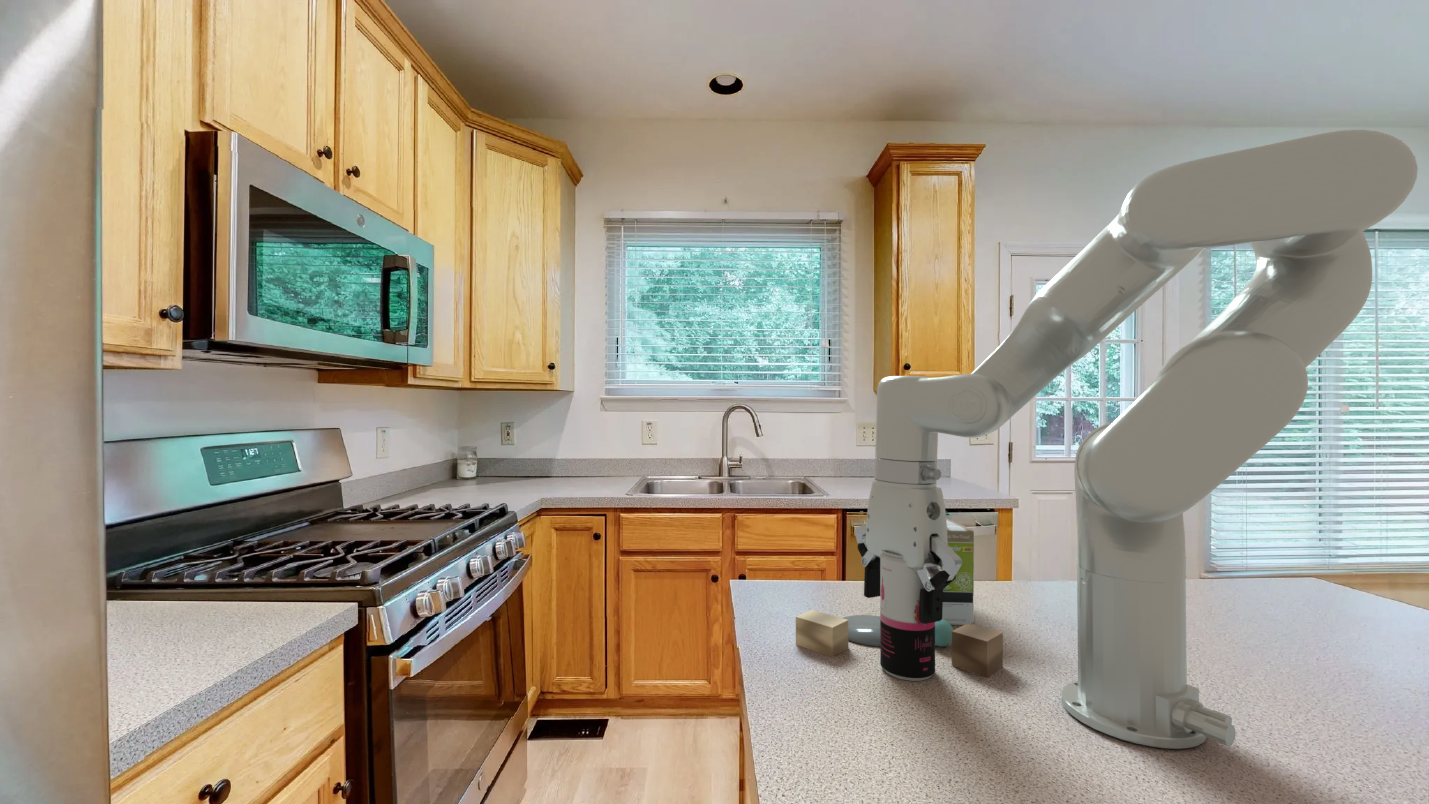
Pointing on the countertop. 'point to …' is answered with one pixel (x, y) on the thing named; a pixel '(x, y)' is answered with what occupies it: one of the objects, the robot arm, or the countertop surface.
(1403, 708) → the countertop surface
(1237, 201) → the robot arm
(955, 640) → the walnut cube
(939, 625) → the teal rubber ball
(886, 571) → the beverage can
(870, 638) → the grey round disc
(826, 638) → the oak block
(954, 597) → the tea box
